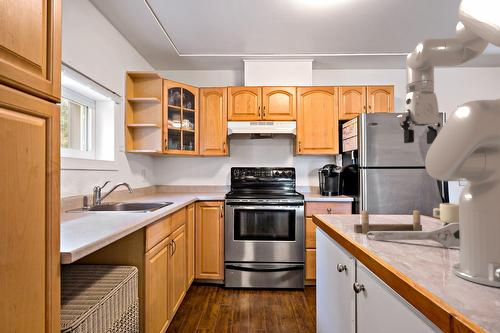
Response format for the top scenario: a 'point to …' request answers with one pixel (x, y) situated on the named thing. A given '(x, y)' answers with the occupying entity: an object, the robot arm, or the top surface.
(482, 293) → the top surface
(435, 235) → the wrench
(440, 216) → the character mug
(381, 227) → the peg rack
